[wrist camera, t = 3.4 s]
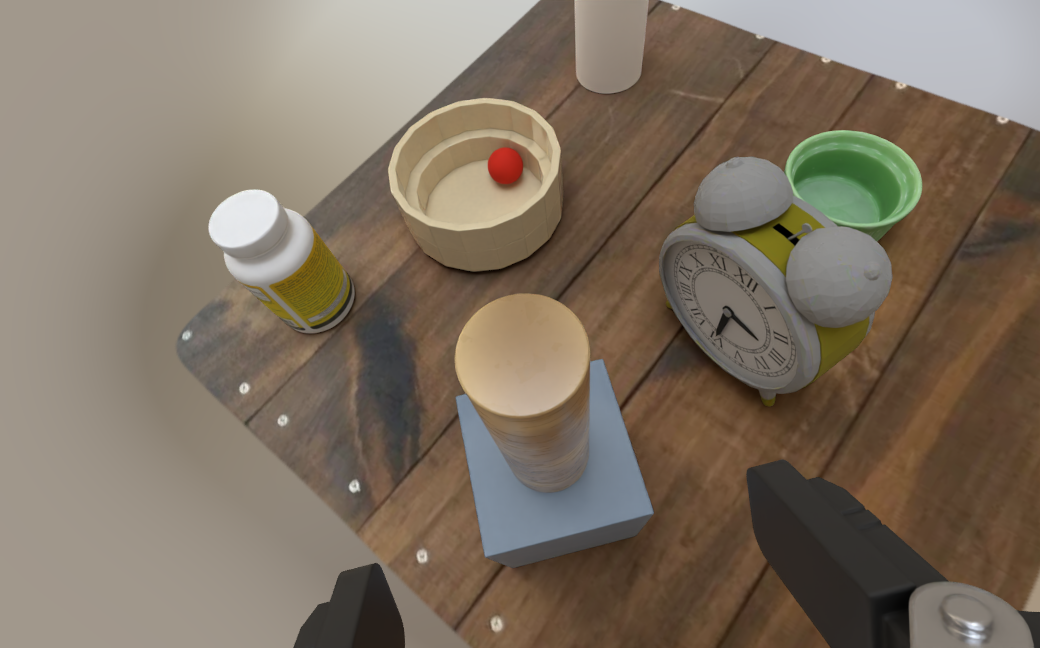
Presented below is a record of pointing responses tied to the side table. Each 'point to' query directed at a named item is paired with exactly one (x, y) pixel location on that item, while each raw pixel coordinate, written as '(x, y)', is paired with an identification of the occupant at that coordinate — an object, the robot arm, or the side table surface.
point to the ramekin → (855, 180)
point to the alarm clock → (770, 279)
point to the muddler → (530, 386)
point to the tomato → (505, 165)
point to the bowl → (478, 184)
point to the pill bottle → (282, 261)
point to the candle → (609, 43)
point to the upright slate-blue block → (567, 513)
